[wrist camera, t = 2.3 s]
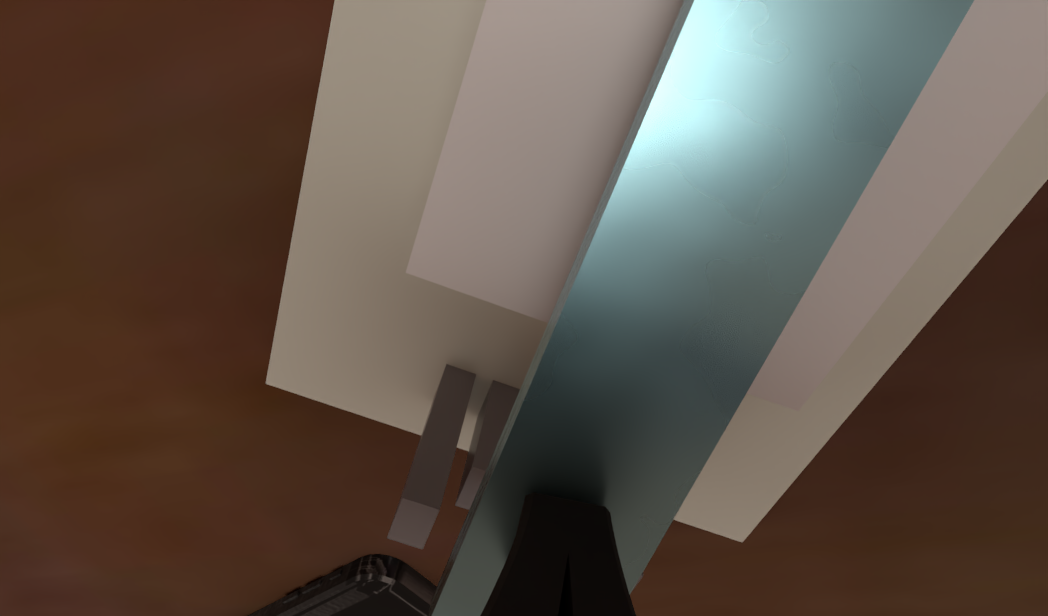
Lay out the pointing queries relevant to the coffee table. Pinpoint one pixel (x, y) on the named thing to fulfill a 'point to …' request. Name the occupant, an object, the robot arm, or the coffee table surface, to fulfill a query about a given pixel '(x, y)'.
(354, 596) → the phone
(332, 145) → the socket board
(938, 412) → the coffee table surface
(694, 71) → the retention strap
